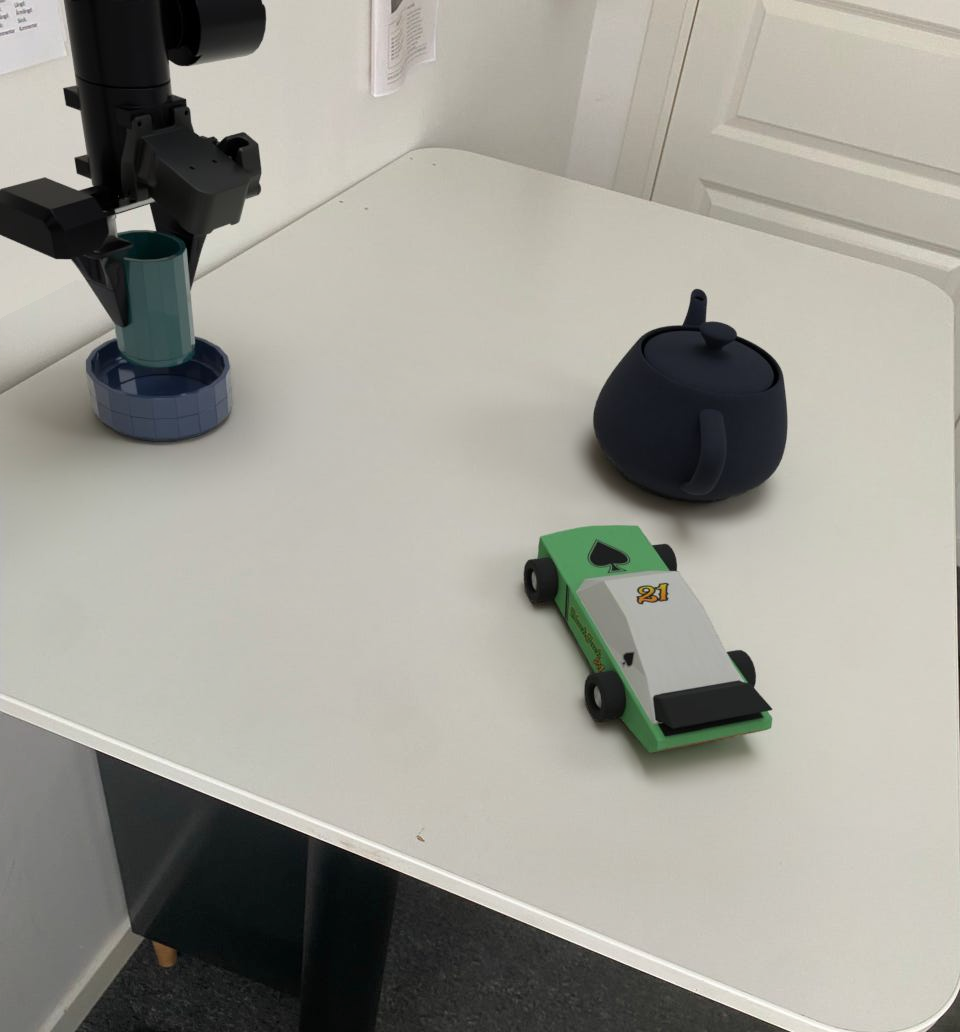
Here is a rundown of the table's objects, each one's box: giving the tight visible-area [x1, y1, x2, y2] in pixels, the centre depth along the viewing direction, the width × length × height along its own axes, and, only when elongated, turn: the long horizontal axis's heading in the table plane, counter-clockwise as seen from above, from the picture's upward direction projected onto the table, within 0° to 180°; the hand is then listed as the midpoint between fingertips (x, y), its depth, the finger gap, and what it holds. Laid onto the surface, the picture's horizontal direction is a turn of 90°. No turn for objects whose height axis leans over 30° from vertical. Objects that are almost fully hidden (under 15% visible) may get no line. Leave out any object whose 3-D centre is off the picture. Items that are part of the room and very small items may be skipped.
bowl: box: [85, 335, 234, 442], centre depth 74 cm, size 11×11×4 cm
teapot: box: [592, 288, 789, 503], centre depth 75 cm, size 25×16×12 cm, turn 174°
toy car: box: [523, 524, 773, 754], centre depth 60 cm, size 10×19×5 cm, turn 18°
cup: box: [113, 229, 196, 368], centre depth 69 cm, size 6×6×8 cm
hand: (151, 312), depth 70 cm, fingers closed on cup, 6 cm apart
